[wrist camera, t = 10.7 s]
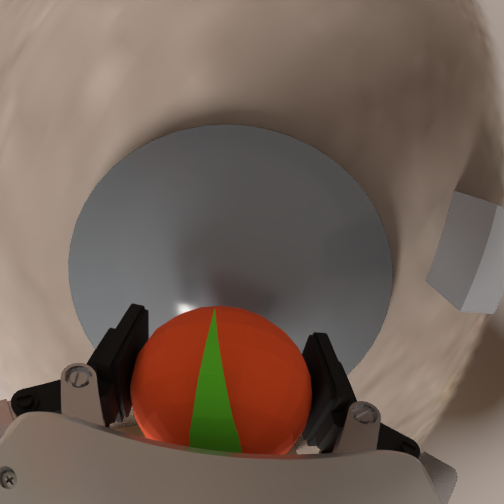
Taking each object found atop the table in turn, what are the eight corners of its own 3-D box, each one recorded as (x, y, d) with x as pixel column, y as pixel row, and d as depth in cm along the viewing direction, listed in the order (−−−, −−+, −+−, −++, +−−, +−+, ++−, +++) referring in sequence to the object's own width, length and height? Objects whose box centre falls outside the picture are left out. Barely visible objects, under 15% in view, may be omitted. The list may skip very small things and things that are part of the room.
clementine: (143, 249, 11) (51, 356, 5) (307, 252, 12) (376, 372, 5) (165, 383, 14) (138, 492, 7) (289, 387, 14) (308, 499, 8)
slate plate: (419, 176, 13) (432, 179, 12) (325, 410, 19) (328, 422, 18) (86, 114, 11) (74, 112, 10) (95, 377, 17) (90, 387, 16)
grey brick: (452, 190, 13) (497, 204, 10) (486, 207, 14) (526, 223, 10) (424, 280, 15) (459, 311, 12) (460, 286, 16) (493, 313, 12)
